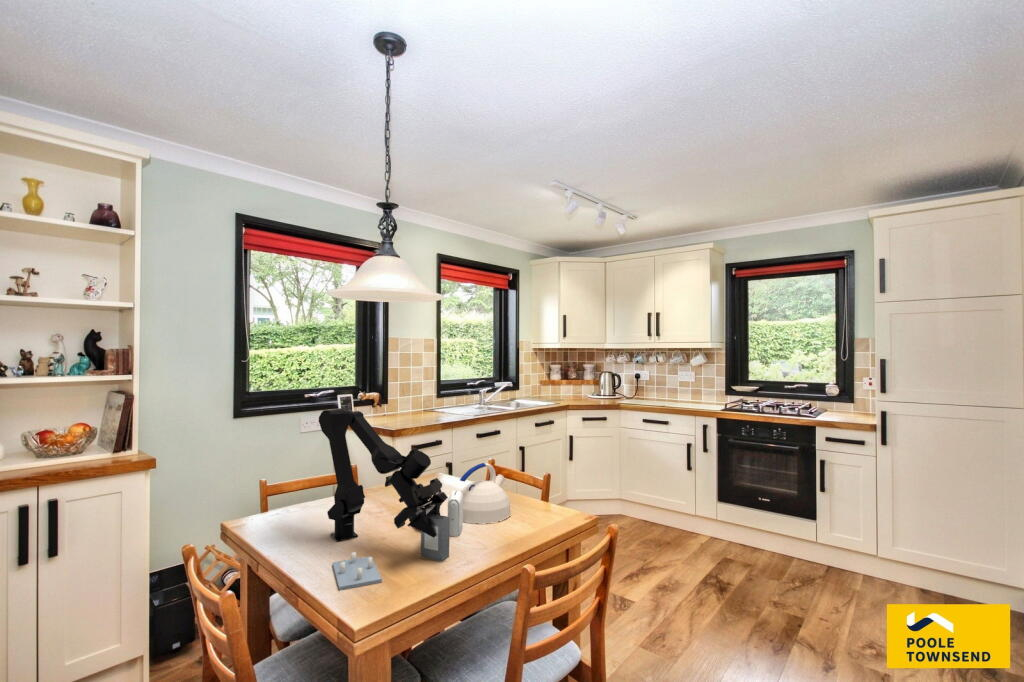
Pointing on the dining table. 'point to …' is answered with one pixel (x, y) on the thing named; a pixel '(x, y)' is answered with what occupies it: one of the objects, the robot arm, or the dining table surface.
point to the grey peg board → (356, 572)
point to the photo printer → (455, 512)
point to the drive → (436, 538)
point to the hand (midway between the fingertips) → (439, 533)
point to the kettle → (484, 498)
